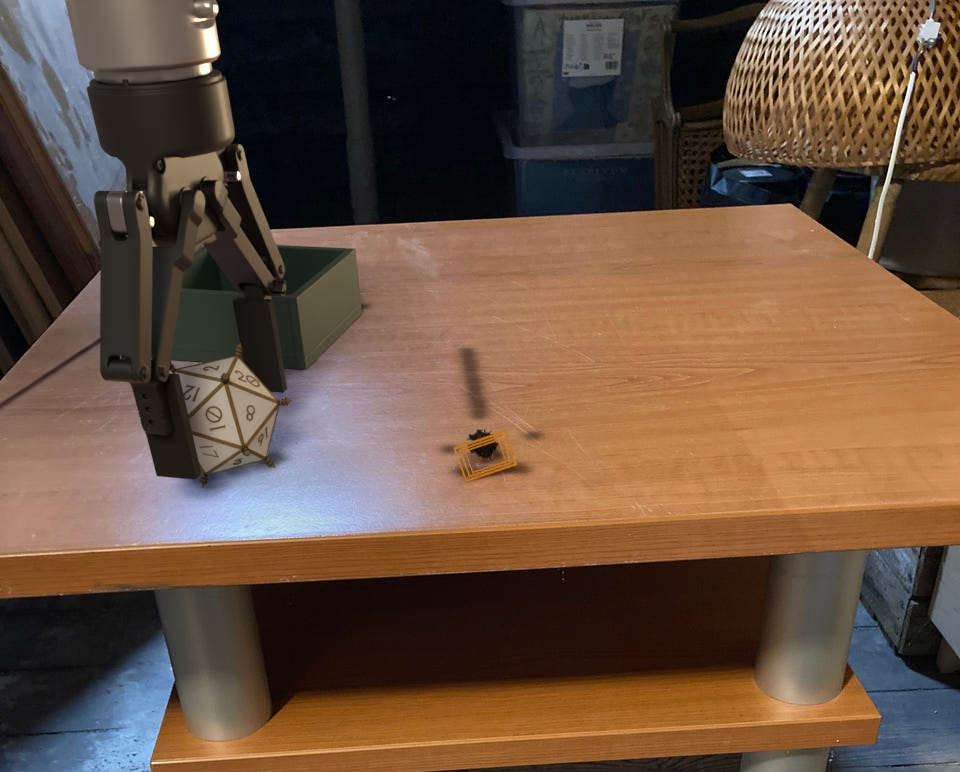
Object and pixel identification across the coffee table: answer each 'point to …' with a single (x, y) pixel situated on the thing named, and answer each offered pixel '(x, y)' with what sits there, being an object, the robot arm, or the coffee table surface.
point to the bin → (299, 313)
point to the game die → (228, 413)
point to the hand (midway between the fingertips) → (227, 429)
